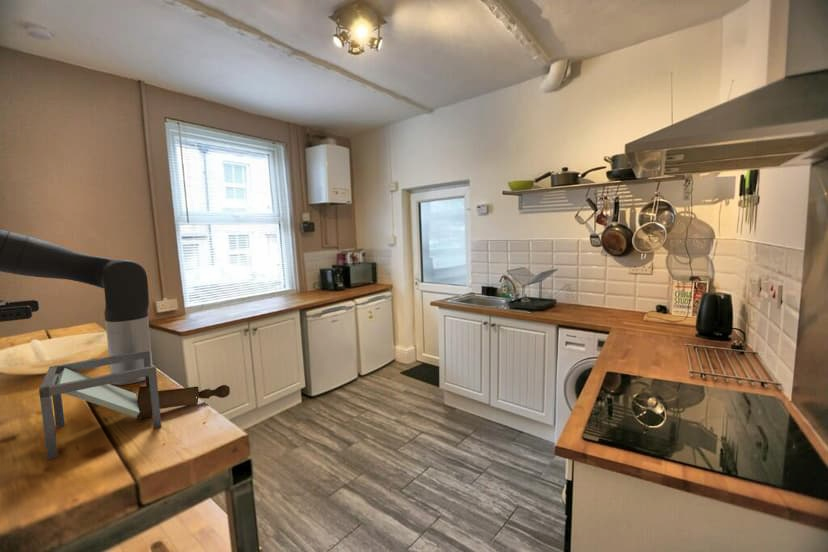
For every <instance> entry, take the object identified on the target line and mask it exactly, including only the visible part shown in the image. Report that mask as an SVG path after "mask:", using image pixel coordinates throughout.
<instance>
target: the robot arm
mask: <svg viewBox="0 0 828 552" xmlns="http://www.w3.org/2000/svg"><path fill="white" fill-rule="evenodd" d="M0 272H2V273H7V274H13V275H20V276H25V277H33V278H35V277H36V278H43V279H44V278H45V279H57V280H58V279H59V280H67V281H68V280H69V281H74V282H78V283H81V284H87V285H91V286H94V287H98V288H100V289H104V290H103V291H104V299H105V300H104V301H105V309H104V312H103V313H104V321H105V332H106V341H107V342H106V343H107V351H108V357H110V356H116V355H122V354H128V353H134V352H140V351H146V350H149V351H150V362H151V366H154V365H153V356H152V345H151V334H150V333H151V332H150V325H149V324H150V321H149V306H150V299H149V297H150V296H149V283H148V281H149V280H148V275H147V272H146V270H145V268H144V267H143V266H142V265H141V263H138V262H137V261H134V260H129V259H117V258H109V257H103V256H97V255H92V254H86V253H83V252H78V251H76V250H72V249H69V248H67V247H63V246H61V245H59V244H55V243H53V242H50V241H46V240H44V239H40V238H36V237H34V236H28V235H25V234H21V233H17V232H12V231H9V230H5V229H4V230H3V229H0ZM38 311H40V304H39V301H38V300H37V299H32V300H31V299H30V300H20V301H19V300H18V301H9V300H8V301H6V300H3V299H1V300H0V323H4V322H10V321H11V322H12V321H19V320H28V319H31V318H33V313H35V312H38ZM139 368H144V360H143V359H138V360H133V361H127V362H122V363H116V364H111V365H109V370H110V371H109V372H110V374H113V373H118V372H124V371H129V370H134V369H139ZM143 381H145V377H140V378H135V379H130V380H126V381H121V382H116V383H111V385H114V386H116V385H117V386H122V385H123V386H124V385H131V384H135V383H139V382H143Z"/></svg>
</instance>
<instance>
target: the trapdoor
mask: <svg viewBox="0 0 828 552" xmlns="http://www.w3.org/2000/svg"><path fill="white" fill-rule="evenodd" d="M87 378H92V377H91V376H88V375H86V374H83V373H81V372H78V371H72V370H69V369H67V368H64V370H63V371H62V372H61V374H59V380H58V382H57V384H62V383H67V382H72V381H77V380H82V379H87ZM63 394H65V395H67V396H70V397H74V398H77V399H79V400H83V401H86V402H89V403H93V404H94V405H95V404H96V405H97V406H101V407H103V408H104V407H105V408H107V409H109V410H113V411H116V412H118V413H123V414H125V415H129V416H132V417H135V418H137V415H138V414H139V413H140V412H139V407H138V402H137V399H138V396H137V394H136V393H134V392H132V391H129V390H126V389H123V388H121V387H118V386H116V385H114V384H106V385H101V386H97V387H92V388H87V389H82V390H77V391H72V392H67V393H63Z"/></svg>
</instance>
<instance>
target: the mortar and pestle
mask: <svg viewBox="0 0 828 552" xmlns="http://www.w3.org/2000/svg"><path fill="white" fill-rule="evenodd" d="M137 392H138V393H137V402H138V407H139V412H140V413H139V414H138V415H137V417H136V418H137V419H142V418H150V417H151V416H152V405H151V394H150V386H146V385H145V386H138V391H137ZM230 393H231V388H230V386H228V385H226V384H221V385H219V386H218V387H216V388H215V389H210V388H206V389H202V390H199V386H191V387H183V388H173V389H172V388H171V389H164V390H162V389H161V390H158V396H159V407H160V410H161V409H169V408H177V407H182V406H183V407H184V406H190V405H191V406H192V405H197V404H198V403H199V399H204V400H205V399H207V400H208V399H210V397H217V398H220V399H222V398H224V399H225V398H227V397H228V396H229V395H230ZM196 397H197V398H196Z"/></svg>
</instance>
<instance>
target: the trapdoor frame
mask: <svg viewBox="0 0 828 552" xmlns="http://www.w3.org/2000/svg"><path fill="white" fill-rule="evenodd" d="M138 359H143V360H144V368H139V369H134V370H129V371H124V372H118V373H113V374H111V373H108V374H104V375H98V376H94V377H91V378H87V379H82V380H77V381H72V382H67V383H62V384H57V382H58V380H59V377H60V374H61V372H62V371H63V370H64V368H67V369H69V370H72V371H75V372H78V371H81V370H86V369H93V368H97V367H98V368H99V367H104V366H110V365H111V364H116V363H122V362H127V361H133V360H138ZM140 377H145V380H144V381H145V386H150V394H151V405H152V415H151V416H152V426H153V429H154V430H156V429H159V428H162V421H161V419H162V418H161V409H160V407H159V396H158V391H159V386H158V376H157V366H156V365H153V366H151V362H150V351H149V350H146V351H140V352H134V353H128V354H122V355H116V356H110V357H109V356H106V357H100V358H93V359H88V360H82V361H75V362H71V363H70V362H69V363H64V364H58V365H51V366H49V367H48V369H47V372H46V374H45V376H44V378H43V381H42V383H41V385H40V386H39V389H38V391H39V398H40V400H39V401H40V402H39V403H40V408H41V416H42V417H41V418H42V424H43V433H44V440H45V447H46V448H45V449H46V457H47V460H48V461H49V460H51V458H52V459H56V458H58V456H59V452H58V443H57V436H56V429H59V428H64V427H65V425H66V422H65V413H64V407H63V406H64V405H63V396H62V395H63V394H64V393H67V392H72V391H77V390H82V389H87V388H92V387H97V386H101V385H106V384H110V385H112V383H116V382H121V381H126V380H130V379H135V378H140ZM53 409H54V410H53ZM55 457H56V458H55Z"/></svg>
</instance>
